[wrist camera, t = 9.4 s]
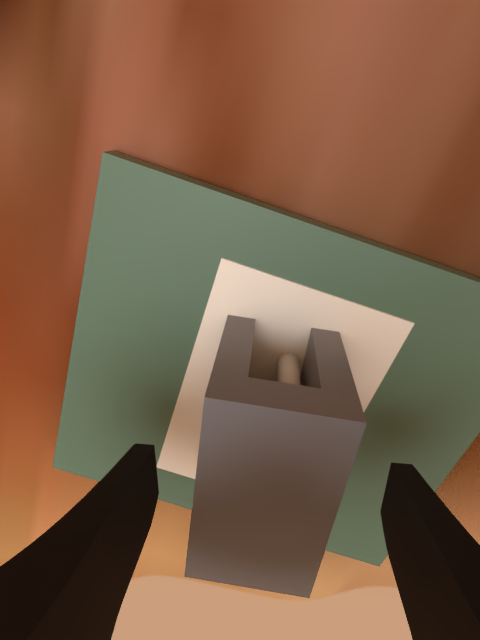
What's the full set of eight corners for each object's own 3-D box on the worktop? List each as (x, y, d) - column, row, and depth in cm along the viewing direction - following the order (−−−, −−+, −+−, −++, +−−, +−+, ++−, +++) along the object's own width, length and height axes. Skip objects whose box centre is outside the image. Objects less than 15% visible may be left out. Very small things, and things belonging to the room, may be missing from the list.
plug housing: (339, 331, 14) (366, 422, 10) (301, 477, 17) (309, 597, 13) (227, 314, 15) (204, 396, 10) (209, 461, 18) (184, 576, 13)
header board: (550, 302, 14) (626, 349, 11) (374, 547, 20) (392, 623, 17) (114, 150, 14) (64, 156, 10) (63, 451, 20) (21, 513, 16)
